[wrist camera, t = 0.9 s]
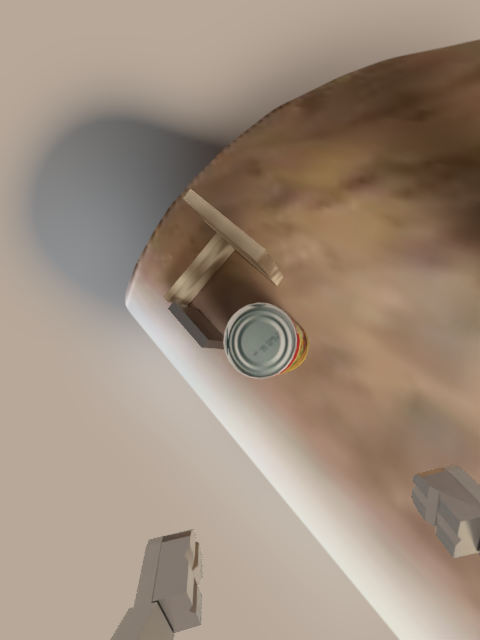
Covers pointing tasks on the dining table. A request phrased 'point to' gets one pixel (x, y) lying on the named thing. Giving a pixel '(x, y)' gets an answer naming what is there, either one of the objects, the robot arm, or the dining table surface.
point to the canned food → (264, 341)
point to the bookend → (197, 326)
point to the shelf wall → (218, 253)
